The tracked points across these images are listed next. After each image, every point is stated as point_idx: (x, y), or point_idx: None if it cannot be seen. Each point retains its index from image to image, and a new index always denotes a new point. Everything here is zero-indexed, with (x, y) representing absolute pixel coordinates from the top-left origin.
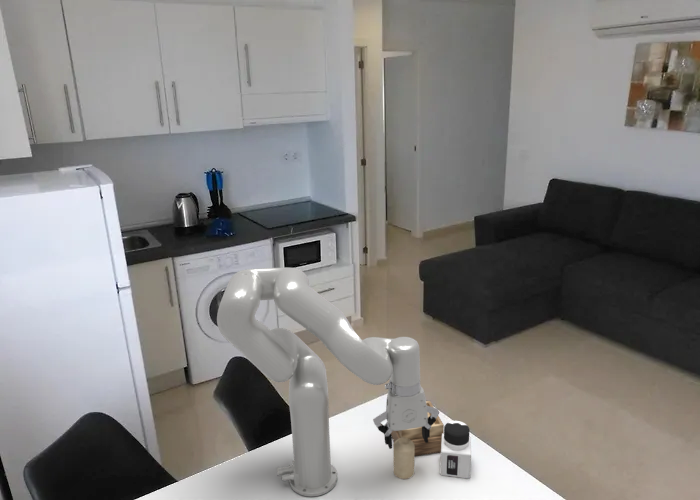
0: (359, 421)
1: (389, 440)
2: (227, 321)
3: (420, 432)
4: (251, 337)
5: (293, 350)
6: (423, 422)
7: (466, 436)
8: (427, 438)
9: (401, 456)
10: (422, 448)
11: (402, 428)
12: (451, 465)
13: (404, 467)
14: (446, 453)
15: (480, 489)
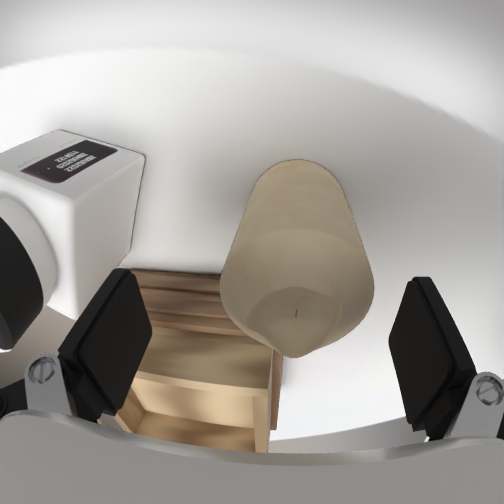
0: (348, 413)
1: (457, 333)
2: None
3: (172, 356)
4: None
5: None
6: (13, 460)
7: None
8: (101, 291)
9: (338, 218)
10: (187, 293)
11: (386, 487)
12: (76, 158)
13: (312, 181)
14: (55, 190)
15: (41, 80)
